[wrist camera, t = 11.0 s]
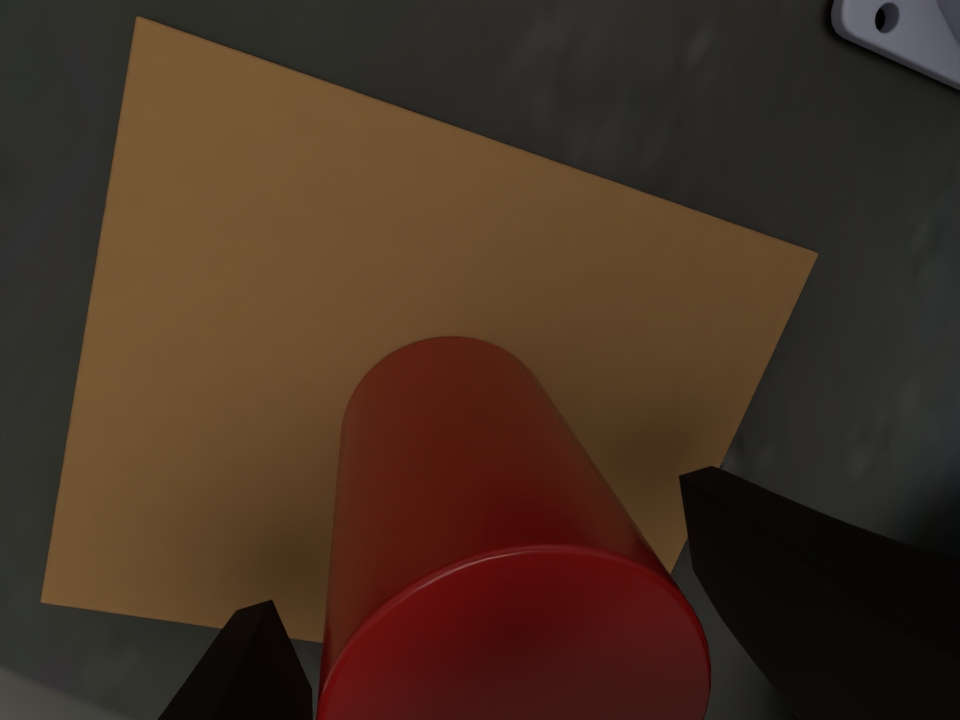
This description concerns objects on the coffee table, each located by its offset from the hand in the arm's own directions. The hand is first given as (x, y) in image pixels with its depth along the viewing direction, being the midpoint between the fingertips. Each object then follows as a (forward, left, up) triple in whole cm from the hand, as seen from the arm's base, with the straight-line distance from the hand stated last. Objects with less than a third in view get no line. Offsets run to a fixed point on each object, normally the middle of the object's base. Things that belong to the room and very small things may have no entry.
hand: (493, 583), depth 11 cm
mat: (+1, -1, -4) cm, 4 cm away
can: (+1, -1, -4) cm, 4 cm away
